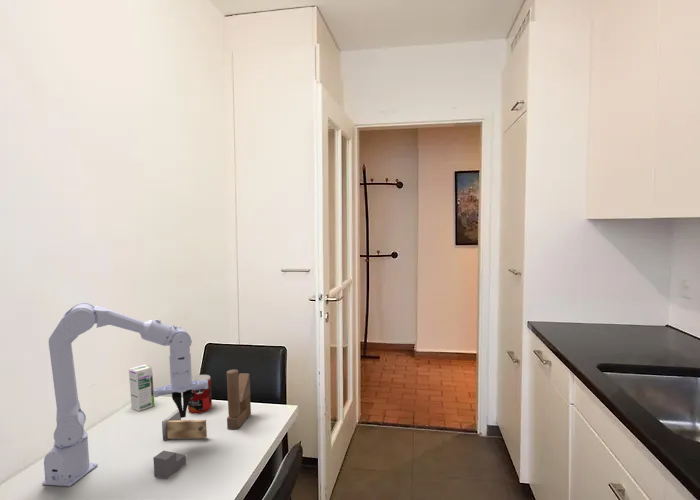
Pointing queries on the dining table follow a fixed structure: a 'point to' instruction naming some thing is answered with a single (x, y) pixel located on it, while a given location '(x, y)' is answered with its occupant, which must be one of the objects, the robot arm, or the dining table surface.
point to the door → (186, 429)
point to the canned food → (200, 396)
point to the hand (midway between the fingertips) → (183, 416)
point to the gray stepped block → (168, 463)
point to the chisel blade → (172, 417)
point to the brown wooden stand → (238, 398)
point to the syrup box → (141, 387)
